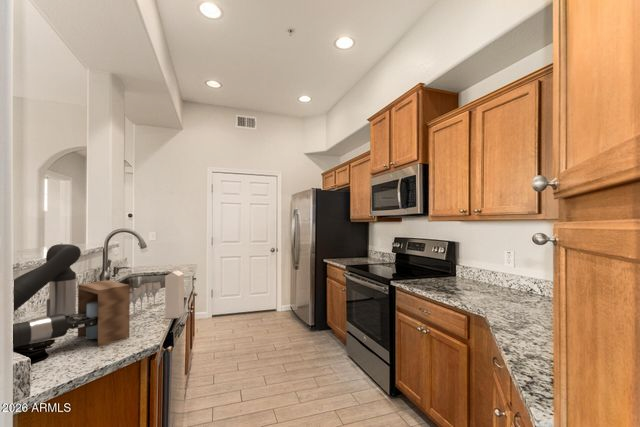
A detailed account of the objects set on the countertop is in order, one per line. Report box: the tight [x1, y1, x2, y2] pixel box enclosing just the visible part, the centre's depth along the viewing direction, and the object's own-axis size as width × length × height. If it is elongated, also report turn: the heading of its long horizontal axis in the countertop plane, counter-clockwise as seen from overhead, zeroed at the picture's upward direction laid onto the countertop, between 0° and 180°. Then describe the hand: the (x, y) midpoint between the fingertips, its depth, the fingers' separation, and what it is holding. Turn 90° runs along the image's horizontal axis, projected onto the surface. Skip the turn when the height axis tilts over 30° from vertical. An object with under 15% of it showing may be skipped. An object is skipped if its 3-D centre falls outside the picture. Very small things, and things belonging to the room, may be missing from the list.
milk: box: [164, 266, 185, 319], centre depth 138 cm, size 6×6×22 cm
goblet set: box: [129, 280, 161, 322], centre depth 145 cm, size 28×6×13 cm, turn 0°
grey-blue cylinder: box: [85, 301, 98, 340], centre depth 112 cm, size 6×6×12 cm
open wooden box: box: [77, 279, 131, 348], centre depth 114 cm, size 10×18×20 cm, turn 57°
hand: (104, 315), depth 114 cm, fingers closed on grey-blue cylinder, 6 cm apart
